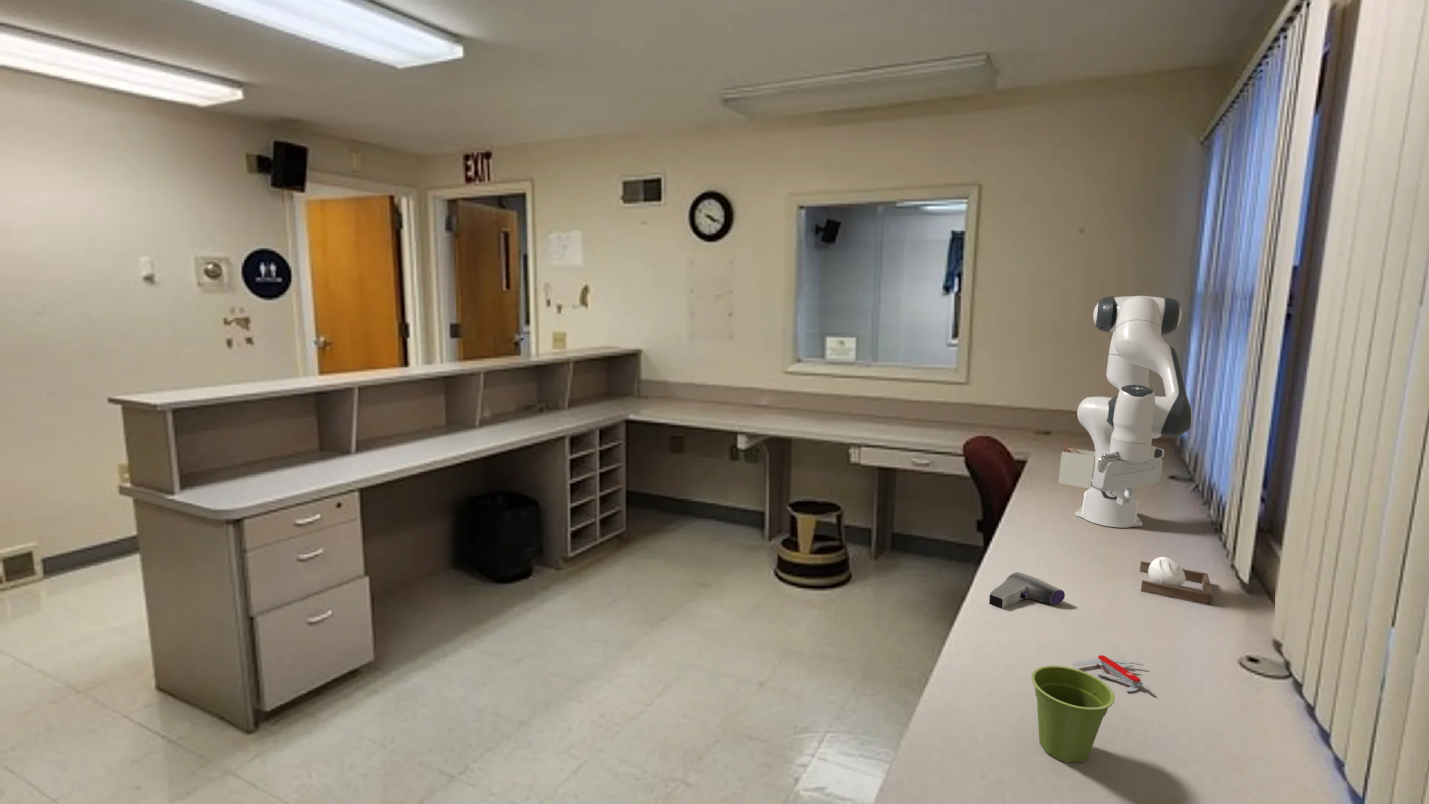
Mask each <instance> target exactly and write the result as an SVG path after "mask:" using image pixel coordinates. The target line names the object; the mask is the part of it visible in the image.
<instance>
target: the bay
mask: <svg viewBox="0 0 1429 804" xmlns="http://www.w3.org/2000/svg"><path fill="white" fill-rule="evenodd" d="M1150 564H1151V562H1147V561H1142V560H1141V561H1140V565H1139V572H1141V573H1145V574H1146V573H1147V574H1148V569H1149V566H1150ZM1182 570H1183V572H1184V574H1185V577H1186V579H1185V581H1187V582H1192V583H1199V584H1201V585H1202V586H1201V587H1202V590H1203V591H1201V590H1199V591H1198V590H1193V589H1189V588H1185V587H1184V588H1183V587H1180V588H1179V587H1174V586H1169V585H1164V584H1159V583H1154V582H1152V581H1149V580H1144V579H1142V580H1141V585H1140V592H1142V593H1148V594H1153V595H1158V596H1163V597H1168V598H1172V599H1173V598H1174V599H1178V600H1181V601H1182V600H1183V601H1186V602H1187V601H1188V602H1191V603H1197V604H1201V605H1202V604H1203V605H1206V606H1211V607H1212V606H1213V604H1214V597H1215V595H1214V591H1213V588H1212V584H1211V581H1210V578H1209V574H1208V573H1205V572H1200V571H1195V570H1191V569H1184V568H1182Z"/></svg>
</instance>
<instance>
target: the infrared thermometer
mask: <svg viewBox="0 0 1429 804" xmlns="http://www.w3.org/2000/svg"><path fill="white" fill-rule="evenodd" d="M1065 594H1066V593H1065V591H1064V590H1063V589H1061V588H1058V587H1057V586H1054V585H1052V584H1050V583H1048V582H1046V581H1044V580H1042V579H1040V578H1037V577H1034V576H1031V575H1028V574H1026V573H1022V572H1020V571H1016V572H1014V573H1011V574H1010V575H1008V577H1007V578H1006V579H1005V580H1004V581H1003V583H1001V584H1000V585H999V586H996V587H995V588H994V589H992V591H991V592H990V594H989V599H988V600H989V601H988V604H989V605H991V606H993V607H996V608H999V609H1000V610H1003V609H1004V608H1005V607H1007V606H1008V607H1009V606H1011V605H1014V604H1017V603H1018V602H1019V601H1022V600H1026V599H1031V600H1036V601H1039V602H1043V603H1047V604H1050V605H1053V606H1055V605H1056V606H1057V605H1059V604H1061V603H1062V602H1063V601H1064V600H1065V596H1066V595H1065Z"/></svg>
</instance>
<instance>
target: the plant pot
mask: <svg viewBox="0 0 1429 804" xmlns="http://www.w3.org/2000/svg"><path fill="white" fill-rule="evenodd" d="M1031 682H1032V685H1033V686H1034V691H1035V692H1034V693H1035V694H1034V695H1035V697H1036V703H1037V704H1036V705H1037V707H1036V709H1037V720H1038V721H1037V723H1038V724H1037V726H1038V740H1039V742H1038V743H1039V745H1040V746H1041V747H1042V749H1043V750H1044V751H1045V753H1047V754H1048V755H1049V754H1050V756H1051V755H1052V756H1051V757H1053V758H1055V757H1056V758H1055V759H1057V760H1059V759H1060V760H1059V761H1062V760H1063V762H1065V761H1066V763H1071V762H1073V763H1074V762H1077V763H1083V762H1085V761H1087V760H1088V759H1089V756H1090V754H1091V752H1092V751H1091V750H1092V748H1093V745H1094V743H1095V740H1096V738H1097V734H1098V733H1099V729H1100V726H1101V724H1102V721H1103V718H1104V717H1106V714H1107V711H1108V709H1109V708H1110V707H1111V706H1113V704H1114V703H1115V701H1116V697H1115V693H1114V691H1113V690H1112V688H1111V687H1110V686H1109V685H1108V684H1106V682H1104V681H1102V679H1100V678H1098V677H1096V676H1094V675H1093V674H1090V673H1088V672H1086V671H1084V670H1080V669H1077V668H1074V667H1069V666H1064V665H1044V666H1040V667H1037V668H1036V669H1034V670H1033V671H1032V673H1031Z"/></svg>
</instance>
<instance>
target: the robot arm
mask: <svg viewBox="0 0 1429 804" xmlns="http://www.w3.org/2000/svg"><path fill="white" fill-rule="evenodd" d="M1182 313H1183V312H1182V308H1181V306H1180V302H1179V301H1178V300H1177V299H1175V298H1171V297H1167V296H1166V297H1158V296H1150V295H1136V296H1135V295H1131V296H1129V295H1127V296H1113V295H1111V296H1106V297H1102V298H1101V299H1099V300H1098V302H1097V303H1096V305H1095V307H1094V309H1093V315H1092V318H1093V322H1094V324H1095V328H1096V329H1097V330H1098V331H1101V332H1105V333H1110V332H1112V337H1111V338H1110V344H1109V348H1108V349H1109V350H1108V357H1107V364H1106V365H1107V366H1106V373H1105V374H1106V375H1105V377H1106V379H1107V381H1108V382H1109V383H1110V384H1111V385H1112V386H1113V387H1115V388H1117V389H1118V391H1119V392H1118V393H1117V395H1115V396H1113V397H1109V396H1088V397H1085V398H1084V399H1083V400H1082V401H1081V402H1080V403H1079V404H1078V407H1077V411H1076V412H1077V413H1076V415H1077V420H1078V422H1079V423H1080V425H1081V426H1082V427H1083V428H1084V429H1086V431H1087V432H1088V435H1090V437H1091V440H1092V442H1093V445H1094V452H1095V469H1094V474H1093V475H1092V478H1091V488H1090V489H1089V488H1087V490H1086V491H1084V492H1083V501H1082V505H1081V507H1080V508H1079V509H1077V510H1076V511H1075V513H1074V515H1075V516H1076V517H1079V518H1082V519H1084V520H1086V521H1089V522H1091V523H1093V524H1096V525H1099V526H1100V525H1101V526H1105V527H1110V528H1120V529H1121V528H1122V529H1123V528H1131V527H1132V528H1133V527H1143V525H1144V524H1143V523H1144V522H1143V521H1141V519H1140V518H1139V516H1138V506H1139V499H1138V498H1137V497H1136V495H1135V492H1136V490H1137V487H1143V486H1150V485H1156V484H1157V483H1158V482H1159V481H1160V479H1161V475H1162V469H1163V459H1162V458H1164V455H1165V449H1163V448H1160V447H1157V446H1155V445H1152V444H1153V443H1152V442H1153V439H1159V438H1160V437H1162V436H1163V437H1170V438H1178V437H1179V436H1181V435H1183V434H1185V433H1187V432H1188V431H1190V429H1191V425H1192V423H1193V411H1192V408H1191V404H1190V401H1189V398H1188V396H1187V392H1186V387H1185V381H1184V379H1183V374H1182V373H1183V372H1182V368H1181V365H1180V361H1179V357H1178V353H1177V351H1176V350H1175V348H1174V347H1172V346H1170V345H1168V343H1167V342H1166V341H1165V340H1164V338H1163V335H1165V336H1166V335H1169V334H1171V333H1172V332H1174V331H1175V330H1177V327H1179V325H1180V323H1181V320H1182V316H1183V314H1182ZM1150 370H1151V371H1153V372H1155V373H1156V374H1157V375H1159V376H1160V377H1161V379H1162V381H1163V383H1162V384H1163V387H1164V393H1165V396H1157V395H1155V390H1154V389H1152V388H1151V386H1150V383H1149V377H1150V375H1149V374H1150Z"/></svg>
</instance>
